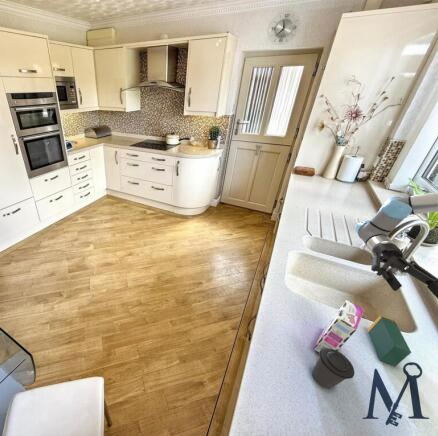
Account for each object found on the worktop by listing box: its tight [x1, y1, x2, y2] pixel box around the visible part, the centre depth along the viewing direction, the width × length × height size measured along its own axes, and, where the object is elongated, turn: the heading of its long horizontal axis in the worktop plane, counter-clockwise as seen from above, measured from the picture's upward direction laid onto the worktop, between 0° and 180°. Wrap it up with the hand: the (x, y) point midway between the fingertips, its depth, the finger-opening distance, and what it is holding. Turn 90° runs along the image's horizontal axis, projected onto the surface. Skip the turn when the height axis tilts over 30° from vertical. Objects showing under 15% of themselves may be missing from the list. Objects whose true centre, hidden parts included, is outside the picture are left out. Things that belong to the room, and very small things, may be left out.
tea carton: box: [366, 315, 412, 367], centre depth 76 cm, size 12×4×8 cm, turn 155°
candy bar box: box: [312, 299, 365, 355], centre depth 74 cm, size 11×5×16 cm, turn 131°
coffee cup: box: [311, 348, 355, 390], centre depth 66 cm, size 8×8×10 cm
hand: (421, 294), depth 73 cm, fingers open, 13 cm apart
